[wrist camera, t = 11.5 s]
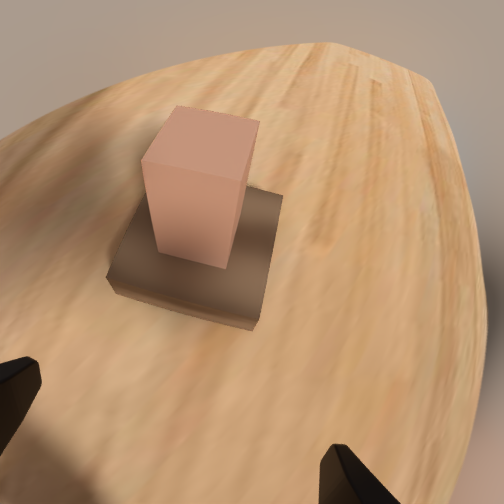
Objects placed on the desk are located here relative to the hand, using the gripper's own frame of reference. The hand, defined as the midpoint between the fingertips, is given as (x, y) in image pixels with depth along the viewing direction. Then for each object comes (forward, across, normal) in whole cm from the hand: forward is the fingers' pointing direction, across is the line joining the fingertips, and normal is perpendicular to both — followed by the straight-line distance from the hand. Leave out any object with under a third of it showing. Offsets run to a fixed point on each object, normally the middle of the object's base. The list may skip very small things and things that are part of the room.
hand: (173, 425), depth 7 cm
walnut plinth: (+19, +3, 0) cm, 19 cm away
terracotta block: (+17, +3, -2) cm, 17 cm away
